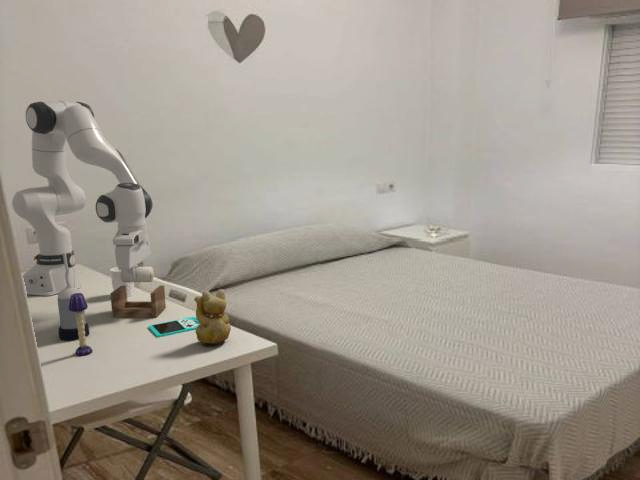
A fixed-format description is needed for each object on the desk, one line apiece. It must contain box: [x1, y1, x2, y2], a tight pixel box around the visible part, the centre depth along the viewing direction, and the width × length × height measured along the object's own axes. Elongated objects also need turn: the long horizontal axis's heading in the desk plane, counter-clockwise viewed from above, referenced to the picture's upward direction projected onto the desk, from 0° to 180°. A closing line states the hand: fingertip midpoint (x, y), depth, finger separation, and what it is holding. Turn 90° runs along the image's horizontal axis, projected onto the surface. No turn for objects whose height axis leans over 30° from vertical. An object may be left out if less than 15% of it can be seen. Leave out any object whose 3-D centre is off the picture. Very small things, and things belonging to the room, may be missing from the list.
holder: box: [109, 285, 167, 319], centre depth 180 cm, size 14×9×8 cm, turn 87°
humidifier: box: [57, 252, 90, 342], centre depth 159 cm, size 8×8×25 cm
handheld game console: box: [148, 316, 200, 338], centre depth 168 cm, size 10×16×1 cm, turn 122°
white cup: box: [109, 266, 135, 298], centre depth 199 cm, size 8×8×10 cm
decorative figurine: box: [194, 288, 232, 348], centre depth 153 cm, size 10×8×15 cm
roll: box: [120, 266, 155, 283], centre depth 178 cm, size 10×5×5 cm, turn 87°
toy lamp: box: [69, 292, 93, 357], centre depth 147 cm, size 5×5×17 cm
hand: (136, 276), depth 179 cm, fingers closed on roll, 5 cm apart
